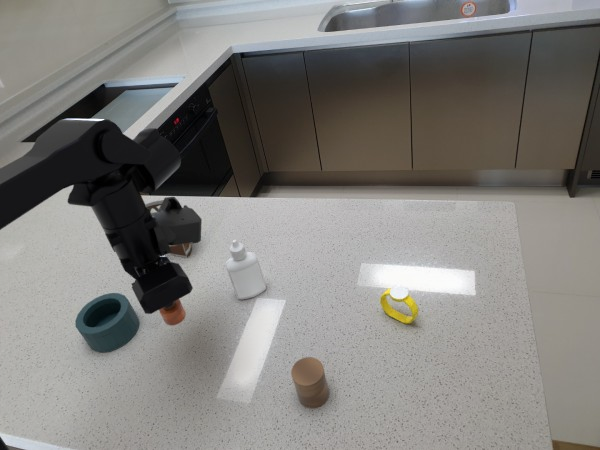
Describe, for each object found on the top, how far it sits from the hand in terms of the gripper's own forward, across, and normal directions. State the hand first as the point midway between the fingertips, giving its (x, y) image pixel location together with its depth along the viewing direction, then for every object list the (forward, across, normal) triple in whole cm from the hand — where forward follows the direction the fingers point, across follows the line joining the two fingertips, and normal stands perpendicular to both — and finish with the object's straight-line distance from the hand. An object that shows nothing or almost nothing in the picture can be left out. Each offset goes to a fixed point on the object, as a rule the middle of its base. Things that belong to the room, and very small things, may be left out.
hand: (166, 301), depth 66 cm
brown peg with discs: (+4, 0, 0) cm, 4 cm away
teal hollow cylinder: (+13, +15, +10) cm, 22 cm away
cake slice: (+13, +30, -8) cm, 34 cm away
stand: (+13, -18, -11) cm, 25 cm away
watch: (+13, -15, -30) cm, 36 cm away
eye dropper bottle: (+13, +7, -14) cm, 20 cm away
